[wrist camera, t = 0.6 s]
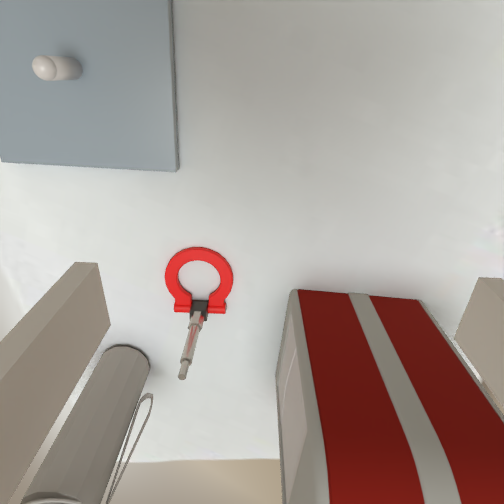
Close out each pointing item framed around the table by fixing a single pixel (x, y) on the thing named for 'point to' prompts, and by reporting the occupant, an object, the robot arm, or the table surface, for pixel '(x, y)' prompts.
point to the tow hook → (197, 308)
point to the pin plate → (88, 84)
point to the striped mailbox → (381, 407)
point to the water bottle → (94, 433)
